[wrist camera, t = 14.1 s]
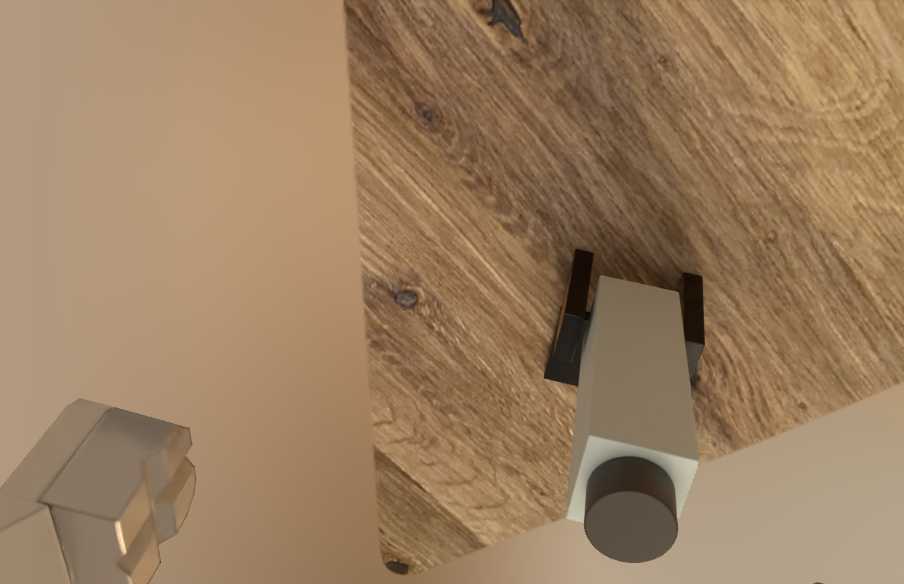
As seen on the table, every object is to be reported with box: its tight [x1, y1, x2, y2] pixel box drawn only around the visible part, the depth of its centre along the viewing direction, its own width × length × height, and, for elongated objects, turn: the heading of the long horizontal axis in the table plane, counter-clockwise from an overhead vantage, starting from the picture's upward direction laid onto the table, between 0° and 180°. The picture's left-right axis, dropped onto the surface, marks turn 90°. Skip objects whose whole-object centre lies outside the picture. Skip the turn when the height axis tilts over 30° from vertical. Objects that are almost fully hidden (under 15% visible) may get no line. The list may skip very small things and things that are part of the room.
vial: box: [566, 275, 700, 563], centre depth 36 cm, size 16×4×4 cm
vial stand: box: [544, 249, 705, 386], centre depth 46 cm, size 9×7×6 cm
